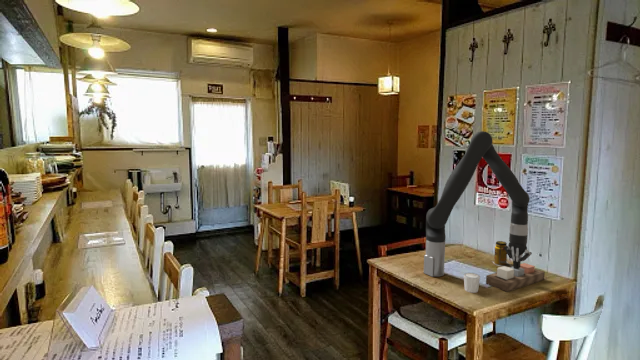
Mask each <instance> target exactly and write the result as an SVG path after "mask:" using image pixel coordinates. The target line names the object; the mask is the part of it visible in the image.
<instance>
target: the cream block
mask: <svg viewBox="0 0 640 360" xmlns="http://www.w3.org/2000/svg"><path fill="white" fill-rule="evenodd" d="M509 267H510V266H498V267H497V269H496V270H497V271H496V273H497V276H498V277H500V278H503V279H506V280H508V279H511V278H514V269H512V268H509Z"/></svg>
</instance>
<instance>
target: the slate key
mask: <svg viewBox="0 0 640 360" xmlns="http://www.w3.org/2000/svg"><path fill="white" fill-rule="evenodd" d="M508 267H509V268H512V269H514V276H517V277H520V276H523V275H524V269H522V268H519V269H515V268H514V267H513V266H508Z"/></svg>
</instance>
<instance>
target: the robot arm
mask: <svg viewBox="0 0 640 360" xmlns="http://www.w3.org/2000/svg"><path fill="white" fill-rule="evenodd" d="M482 159H483V160H484V161H485V162H486V163H487V165H488V166H489V168H490V169H491V171H492V173H493V174H494V176H495V177H496V179H497V180H498V182H499V184H500V185H501V186H502V187H503V188H504V190H505V191H506V193H507V195H508V197H509V198H510V200H511V214H510V223H509V224H510V225H509V238H508V242H509V243H508V244H507V246H505V247H504V249H505V251H506V253H507V257H508V258H509V259H512V265H513V266H512V267H514V268H515V269H519V268H520V264H521V262H524V261H526V260H527V259H528V258H529V257H530V256H532V252H531V251H529V250H528V245H527V244H528V234H529V228H528V226H529V225H528V223H529V222H528V220H529V214H528V211H529V210H528V209H529V207H528V206H529V203H530V201H531V199H530V195H529V193H528V192H527V191H526V190H525V189H524V188H523V186H522V185H521V184H520V182H519V180H518V178H517V176H516V175H515V173H514V172H513V170H511V168H510V167H509V165H507V164H506V162H505V161H504V160H503V159H502V157H501V156H500V155H499V154H498V152H497V150H496V149H495V147H494V145H493V137H492V135H491V134H490V133H489V132H488V131H484V130H481V131H478V132H476V133H474V134H473V135H472V137H471V139H470V142H469V145H468V148H467V149H466V151H465V154H464V155H463V157H462V158H461V159H460V160H459V161H458V163H457V164H456V166H455V167H454V169H453V170H452V172H451V173H450V175H449V176H448V179H447V180H446V182H445V185H444V188H443V190H442V193H441V196H440V199H439V200H438V201H437V202H438V203H436V205H435V206H434V207H432V208H430V209H428V211H427V212H426V216H425V254H424V255H423V274H425V275H428V276H430V277H432V278H433V277H442V276H444V275H445V262H446V261H445V259H446V258H445V257H446V224H447V222H448V220H449V217H451V216H450V215H451V213H452V211H453V210H454V207H455V206H456V204H457V202H458V201H459V200H460V199H461V196H462V195H463V193H464V192H465V190H466V189H467V187H468V186H469V184H470V182H471V180H472V178H473V176H474V174H475V172H476V169H477V167H478V165H479V163H480V162H481V160H482Z"/></svg>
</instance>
